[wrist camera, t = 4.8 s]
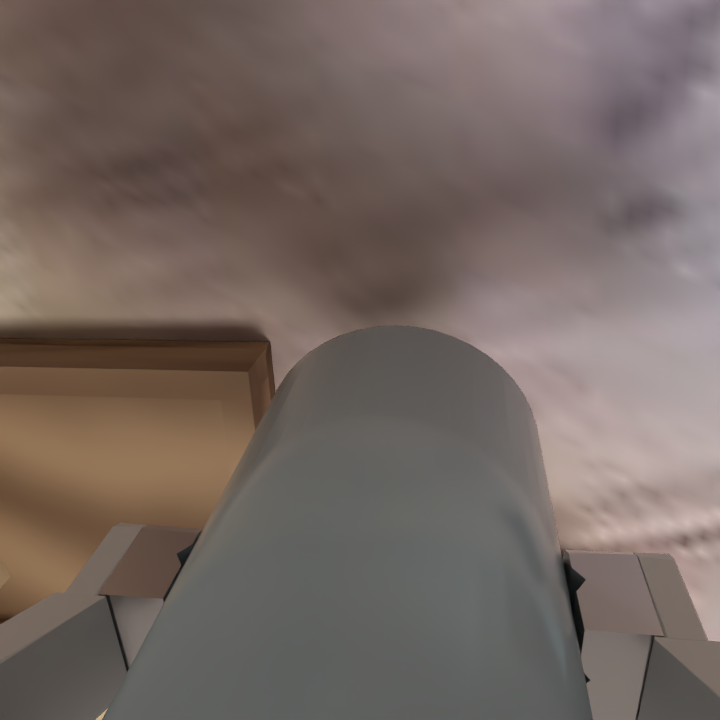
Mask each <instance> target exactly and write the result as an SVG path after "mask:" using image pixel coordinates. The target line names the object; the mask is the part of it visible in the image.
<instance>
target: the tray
mask: <svg viewBox="0 0 720 720" xmlns="http://www.w3.org/2000/svg"><path fill="white" fill-rule="evenodd" d="M274 395H275V386H274V376H273V366H272V356H271V347H270V342H241V341H170V340H99V339H28V338H0V560H1V562H2V563H3V565H4V567H5V568H6V570H7V571H8V573H9V575H10V576H11V577H10V578H9V579H8V580H7V581H6V582H5V583H4V584H3V585H2V587H1V588H0V624H2V623H4V622H5V621H7V620H9V619H11V618H12V617H14V616H16V615H17V614H19V613H21V612H23V611H24V610H26V609H28V608H30V607H31V606H33V605H35V604H36V603H38V602H40V601H42V600H43V599H45V598H47V597H49V596H50V595H52V594H54V593H56V592H58V593H65V592H66V590H67V589H68V587H69V586H70V585H71V583H72V582H73V581H74V579H75V578H76V576H77V575H78V574H79V572H80V571H81V570H82V568H83V567H84V565H85V564H86V563H87V561H88V560H89V559H90V557H91V556H92V554H93V553H94V552H95V550H96V549H97V548H98V546H99V545H100V543H101V542H102V541H103V539H104V538H105V537H106V535H107V534H108V532H109V531H110V530H111V528H112V527H113V526H115V525H117V524H119V523H131V524H143V525H149V524H150V525H163V526H175V527H187V528H199V529H204V527H205V525H206V523H207V521H208V519H209V517H210V515H211V513H212V512H213V510H214V508H215V506H216V504H217V502H218V500H219V498H220V496H221V495H222V493H223V491H224V489H225V487H226V485H227V483H228V481H229V480H230V478H231V476H232V474H233V472H234V470H235V468H236V466H237V464H238V463H239V461H240V459H241V457H242V455H243V453H244V451H245V449H246V447H247V446H248V444H249V442H250V440H251V438H252V436H253V434H254V432H255V431H256V429H257V427H258V425H259V423H260V421H261V419H262V417H263V415H264V414H265V412H266V410H267V408H268V406H269V404H270V402H271V400H272V398H273V397H274Z"/></svg>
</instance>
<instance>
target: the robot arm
mask: <svg viewBox="0 0 720 720" xmlns="http://www.w3.org/2000/svg"><path fill="white" fill-rule="evenodd" d="M202 530H203V529H199V528H187V527H175V526H163V525H150V524H149V525H143V524H131V523H119V524H117V525H115V526H113V527H112V528H111V530H110V531H109V532H108V534H107V535H106V537H105V538H104V539H103V541H102V542H101V543H100V545H99V546H98V548H97V549H96V550H95V552H94V553H93V554H92V556H91V557H90V559H89V560H88V561H87V563H86V564H85V565H84V567H83V568H82V570H81V571H80V572H79V574H78V575H77V576H76V578H75V579H74V581H73V582H72V583H71V585H70V586H69V587H68V589H67V590H66V592H65V593H58V592H56V593H54V594H52V595H50V596H49V597H47V598H45V599H43V600H42V601H40V602H38V603H36V604H35V605H33V606H31V607H30V608H28V609H26V610H24V611H23V612H21V613H19V614H17V615H16V616H14V617H12V618H11V619H9V620H7V621H5V622H4V623H2V624H0V720H95V719H96V718H97V717H98V716H100V715H101V714H102V713H103V712H104V711H105V710H106V709H107V708H108V707H109V706H110V704H111V702H112V700H113V698H114V696H115V694H116V693H117V691H118V689H119V687H120V685H121V683H122V681H123V679H124V677H125V676H126V674H127V672H128V670H129V668H130V666H131V664H132V662H133V660H134V659H135V657H136V655H137V653H138V651H139V649H140V647H141V645H142V644H143V642H144V640H145V638H146V636H147V634H148V632H149V630H150V628H151V627H152V625H153V623H154V621H155V619H156V617H157V615H158V613H159V611H160V610H161V608H162V606H163V604H164V602H165V600H166V598H167V596H168V595H169V593H170V591H171V589H172V587H173V585H174V583H175V581H176V579H177V578H178V576H179V574H180V572H181V570H182V568H183V566H184V564H185V562H186V561H187V559H188V557H189V555H190V553H191V551H192V549H193V547H194V546H195V544H196V542H197V540H198V538H199V536H200V534H201V532H202ZM563 565H564V571H565V576H566V581H567V586H568V591H569V597H570V602H571V607H572V612H573V617H574V623H575V628H576V633H577V638H578V644H579V649H580V654H581V659H582V664H583V670H584V675H585V680H586V685H587V691H588V696H589V701H590V706H591V711H592V717H593V720H720V642H716V641H708V638H707V636H706V634H705V631H704V629H703V626H702V624H701V622H700V619H699V617H698V614H697V612H696V610H695V607H694V605H693V602H692V600H691V598H690V595H689V593H688V590H687V588H686V586H685V583H684V581H683V578H682V576H681V574H680V571H679V569H678V566H677V564H676V562H675V559H674V558H673V557H672V556H671V555H670V554H659V553H633V554H632V553H620V552H600V551H581V550H565V552H564V555H563Z"/></svg>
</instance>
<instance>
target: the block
mask: <svg viewBox="0 0 720 720" xmlns="http://www.w3.org/2000/svg"><path fill="white" fill-rule="evenodd" d="M10 577H11V576H10V575H9V573H8V571H7V570H6V568H5V567H4V565H3V563H2V562H1V560H0V588H1V587H2V585H3V584H4V583H5V582H6V581H7V580H8V579H9V578H10Z"/></svg>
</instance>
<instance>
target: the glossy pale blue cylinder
mask: <svg viewBox="0 0 720 720" xmlns="http://www.w3.org/2000/svg"><path fill="white" fill-rule="evenodd" d="M102 720H593V717H592V711H591V706H590V701H589V696H588V691H587V685H586V680H585V675H584V670H583V664H582V659H581V654H580V649H579V644H578V638H577V633H576V628H575V623H574V617H573V612H572V607H571V602H570V597H569V591H568V586H567V581H566V576H565V571H564V565H563V560H562V555H561V550H560V544H559V539H558V534H557V529H556V524H555V518H554V513H553V508H552V503H551V497H550V492H549V487H548V482H547V477H546V471H545V466H544V461H543V456H542V450H541V445H540V440H539V435H538V430H537V425H536V422H535V419H534V415H533V412H532V409H531V407H530V405H529V403H528V401H527V399H526V397H525V395H524V394H523V392H522V391H521V389H520V388H519V387H518V385H517V384H516V382H515V381H514V380H513V378H512V377H511V376H510V375H509V374H508V373H507V372H506V371H505V370H504V369H503V368H502V367H501V366H500V365H499V364H498V363H496V362H495V361H494V360H493V359H492V358H490V357H489V356H488V355H486V354H485V353H483V352H482V351H480V350H478V349H477V348H475V347H474V346H472V345H470V344H468V343H466V342H464V341H462V340H459V339H457V338H455V337H453V336H450V335H447V334H444V333H440V332H437V331H434V330H429V329H423V328H418V327H409V326H378V327H371V328H366V329H360V330H356V331H353V332H349V333H346V334H343V335H340V336H338V337H336V338H333V339H331V340H329V341H327V342H325V343H323V344H321V345H320V346H318V347H317V348H315V349H314V350H312V351H310V352H309V353H308V354H307V355H306V356H304V357H303V358H302V359H301V360H300V361H299V362H297V363H296V365H295V366H294V367H293V368H292V369H291V370H290V371H289V373H288V374H287V375H286V376H285V378H284V379H283V381H282V383H281V384H280V386H279V387H278V389H277V391H276V393H275V395H274V397H273V398H272V400H271V402H270V404H269V406H268V408H267V410H266V412H265V414H264V415H263V417H262V419H261V421H260V423H259V425H258V427H257V429H256V431H255V432H254V434H253V436H252V438H251V440H250V442H249V444H248V446H247V447H246V449H245V451H244V453H243V455H242V457H241V459H240V461H239V463H238V464H237V466H236V468H235V470H234V472H233V474H232V476H231V478H230V480H229V481H228V483H227V485H226V487H225V489H224V491H223V493H222V495H221V496H220V498H219V500H218V502H217V504H216V506H215V508H214V510H213V512H212V513H211V515H210V517H209V519H208V521H207V523H206V525H205V527H204V529H203V530H202V532H201V534H200V536H199V538H198V540H197V542H196V544H195V546H194V547H193V549H192V551H191V553H190V555H189V557H188V559H187V561H186V562H185V564H184V566H183V568H182V570H181V572H180V574H179V576H178V578H177V579H176V581H175V583H174V585H173V587H172V589H171V591H170V593H169V595H168V596H167V598H166V600H165V602H164V604H163V606H162V608H161V610H160V611H159V613H158V615H157V617H156V619H155V621H154V623H153V625H152V627H151V628H150V630H149V632H148V634H147V636H146V638H145V640H144V642H143V644H142V645H141V647H140V649H139V651H138V653H137V655H136V657H135V659H134V660H133V662H132V664H131V666H130V668H129V670H128V672H127V674H126V676H125V677H124V679H123V681H122V683H121V685H120V687H119V689H118V691H117V693H116V694H115V696H114V698H113V700H112V702H111V704H110V706H109V708H108V709H107V711H106V713H105V715H104V717H103V719H102Z"/></svg>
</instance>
